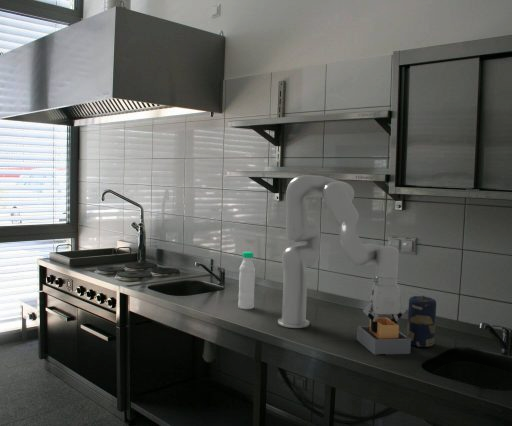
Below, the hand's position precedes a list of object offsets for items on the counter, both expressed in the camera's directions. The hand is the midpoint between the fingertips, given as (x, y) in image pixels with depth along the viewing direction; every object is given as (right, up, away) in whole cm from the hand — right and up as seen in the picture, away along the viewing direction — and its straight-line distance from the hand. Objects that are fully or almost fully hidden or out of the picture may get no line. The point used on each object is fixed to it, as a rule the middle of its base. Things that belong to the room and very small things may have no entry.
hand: (383, 331), depth 182 cm
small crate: (0, -2, 0) cm, 2 cm away
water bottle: (-50, -1, +47) cm, 68 cm away
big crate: (0, -6, 0) cm, 6 cm away
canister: (+14, -6, +4) cm, 16 cm away
